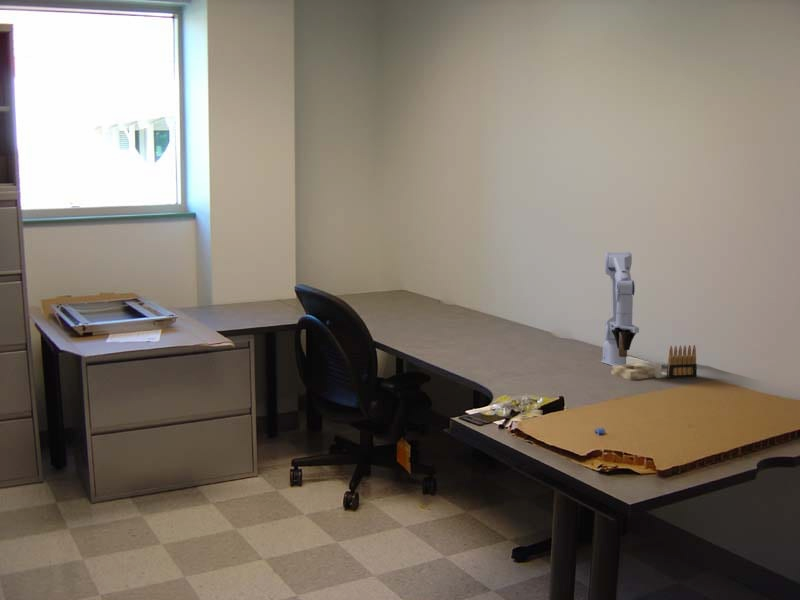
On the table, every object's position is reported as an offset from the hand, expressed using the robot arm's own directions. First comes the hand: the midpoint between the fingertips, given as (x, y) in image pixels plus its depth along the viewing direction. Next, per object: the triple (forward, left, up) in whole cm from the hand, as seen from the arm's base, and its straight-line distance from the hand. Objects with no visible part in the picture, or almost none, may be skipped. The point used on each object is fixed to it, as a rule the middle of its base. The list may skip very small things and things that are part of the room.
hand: (623, 349), depth 317 cm
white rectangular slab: (+1, +11, -10) cm, 14 cm away
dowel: (0, 0, -3) cm, 3 cm away
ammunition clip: (+13, +16, -10) cm, 23 cm away
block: (+3, +2, -10) cm, 10 cm away
